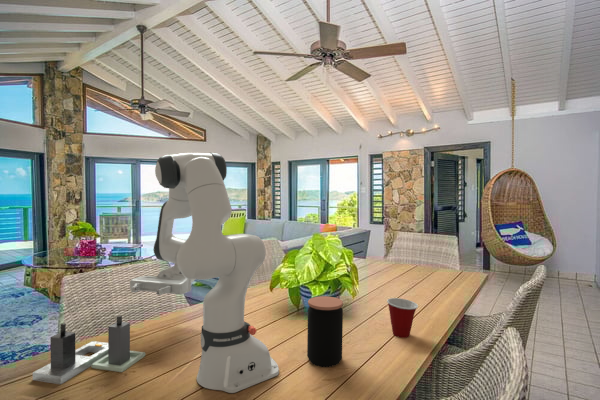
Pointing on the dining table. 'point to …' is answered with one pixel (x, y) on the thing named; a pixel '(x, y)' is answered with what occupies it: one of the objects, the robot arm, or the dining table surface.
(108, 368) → the tray
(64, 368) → the pillar on holed base
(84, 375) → the dining table surface
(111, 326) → the plug
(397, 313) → the plastic cup
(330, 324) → the coffee jar
